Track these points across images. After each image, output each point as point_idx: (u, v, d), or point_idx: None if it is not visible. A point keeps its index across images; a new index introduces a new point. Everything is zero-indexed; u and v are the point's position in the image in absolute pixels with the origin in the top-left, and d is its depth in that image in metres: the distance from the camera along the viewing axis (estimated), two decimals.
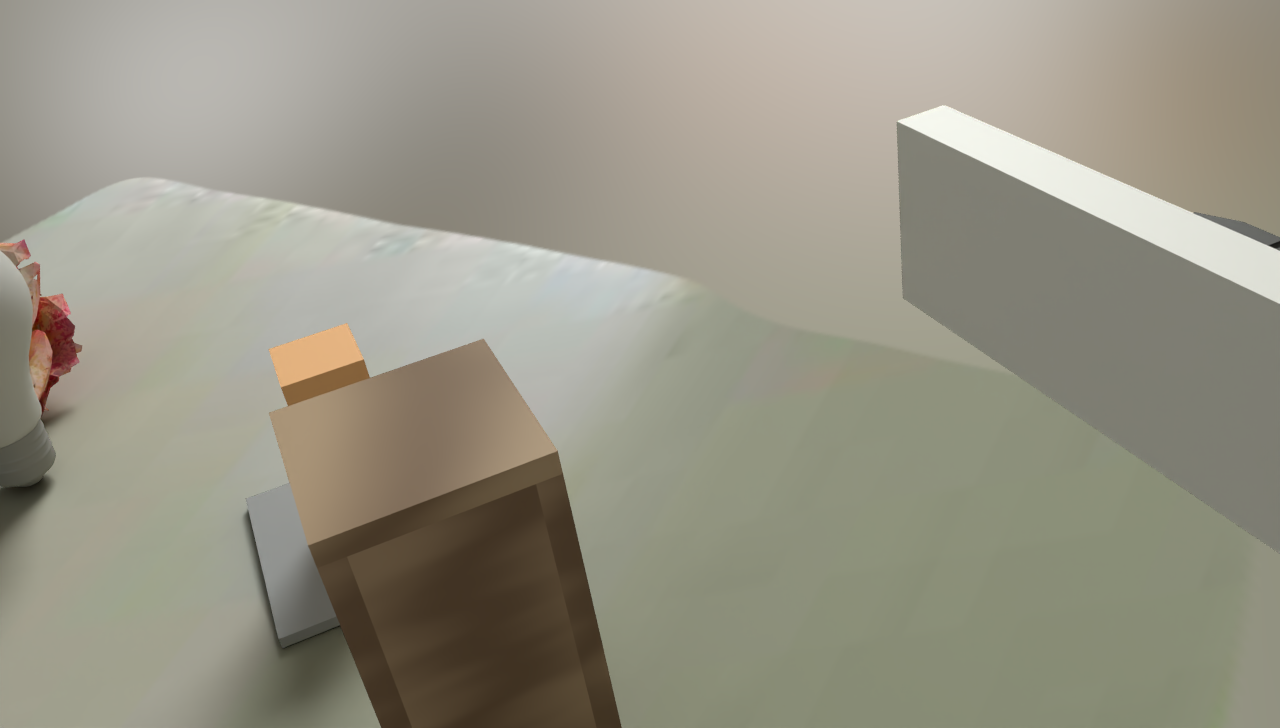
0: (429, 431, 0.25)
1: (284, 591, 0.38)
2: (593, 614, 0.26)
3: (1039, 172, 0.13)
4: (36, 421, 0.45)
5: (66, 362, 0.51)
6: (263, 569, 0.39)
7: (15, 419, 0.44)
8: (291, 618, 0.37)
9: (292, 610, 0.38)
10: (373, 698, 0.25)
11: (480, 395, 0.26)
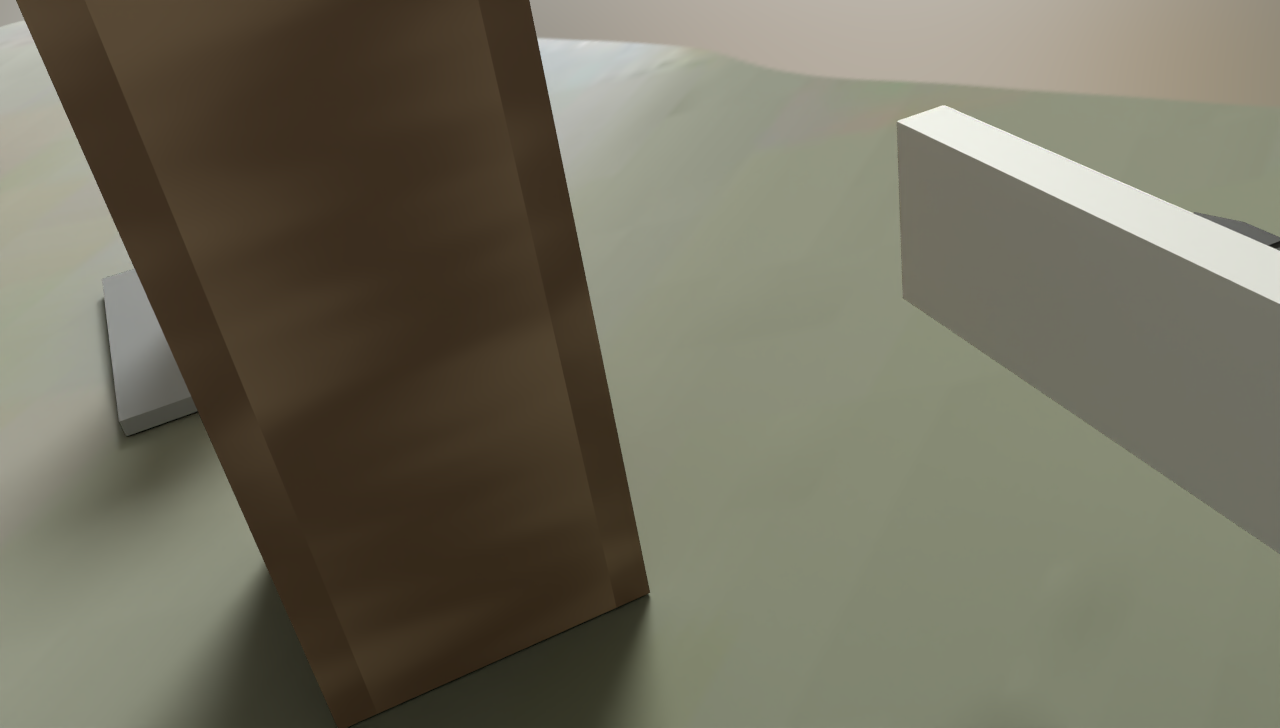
0: None
1: (136, 369, 0.27)
2: (568, 210, 0.15)
3: (1039, 172, 0.13)
4: None
5: None
6: (112, 348, 0.28)
7: None
8: (141, 397, 0.26)
9: (144, 388, 0.26)
10: (166, 325, 0.14)
11: None
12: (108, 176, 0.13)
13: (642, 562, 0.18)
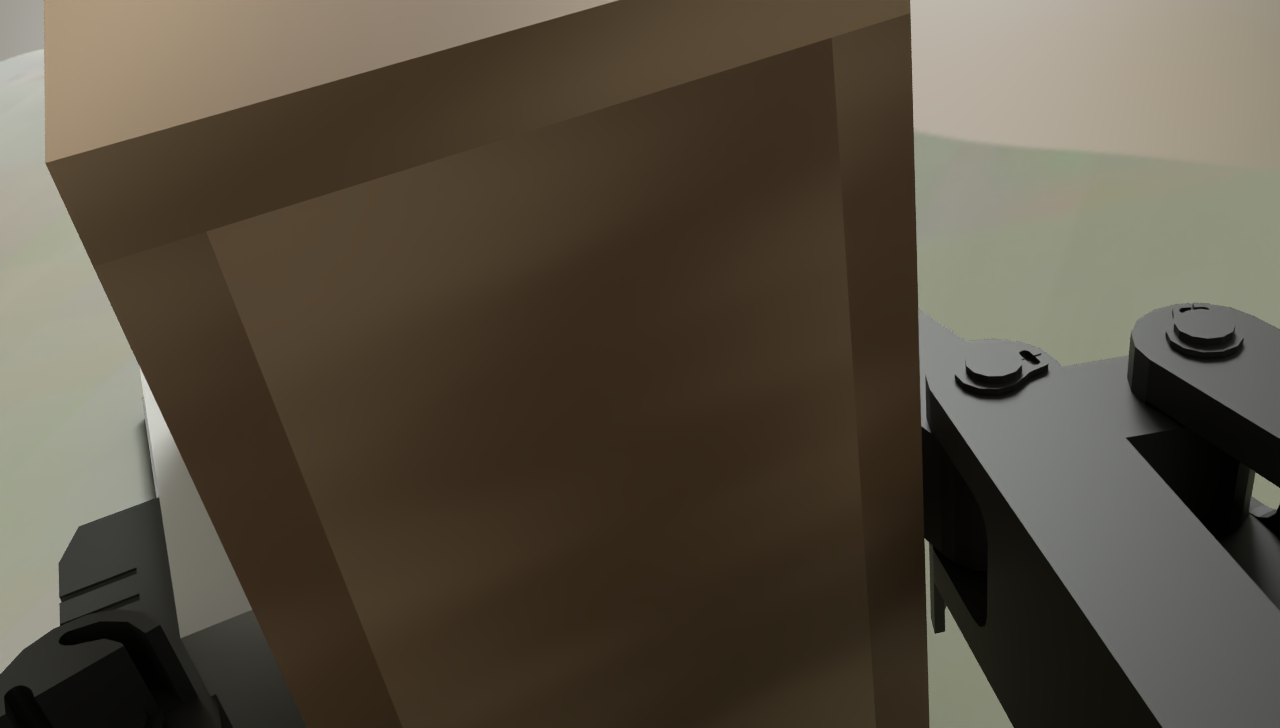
0: None
1: None
2: (918, 496, 0.10)
3: None
4: None
5: None
6: None
7: None
8: None
9: None
10: None
11: None
12: (242, 534, 0.07)
13: None
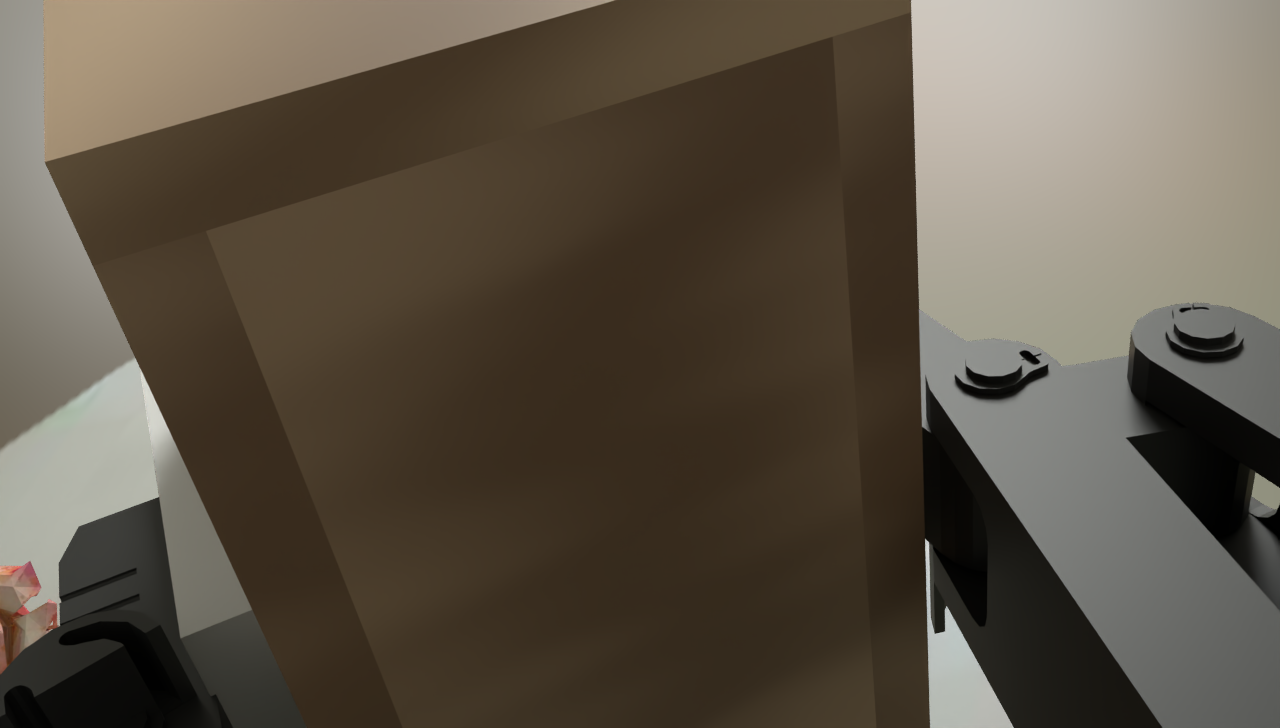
0: None
1: None
2: (919, 496, 0.10)
3: None
4: None
5: None
6: None
7: None
8: None
9: None
10: None
11: None
12: (242, 533, 0.07)
13: None
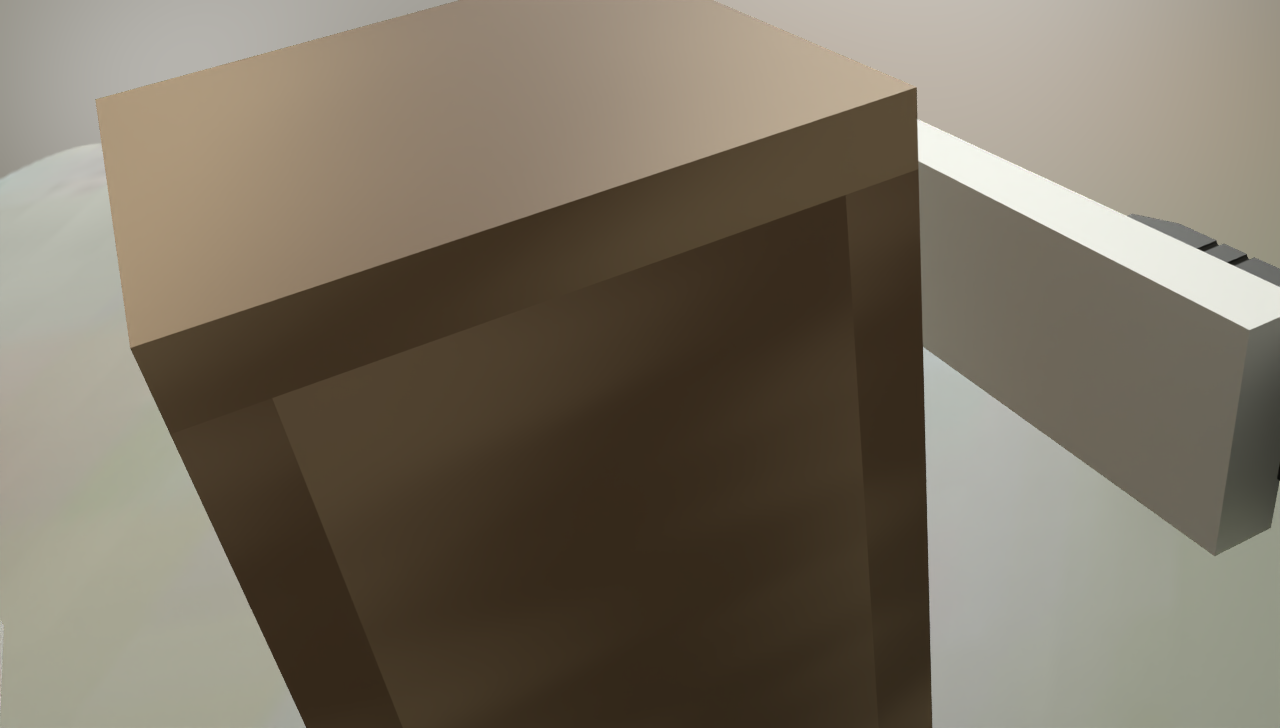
0: (511, 89, 0.09)
1: None
2: (924, 593, 0.10)
3: (979, 174, 0.14)
4: None
5: None
6: None
7: None
8: None
9: None
10: None
11: (636, 26, 0.10)
12: (298, 659, 0.08)
13: None
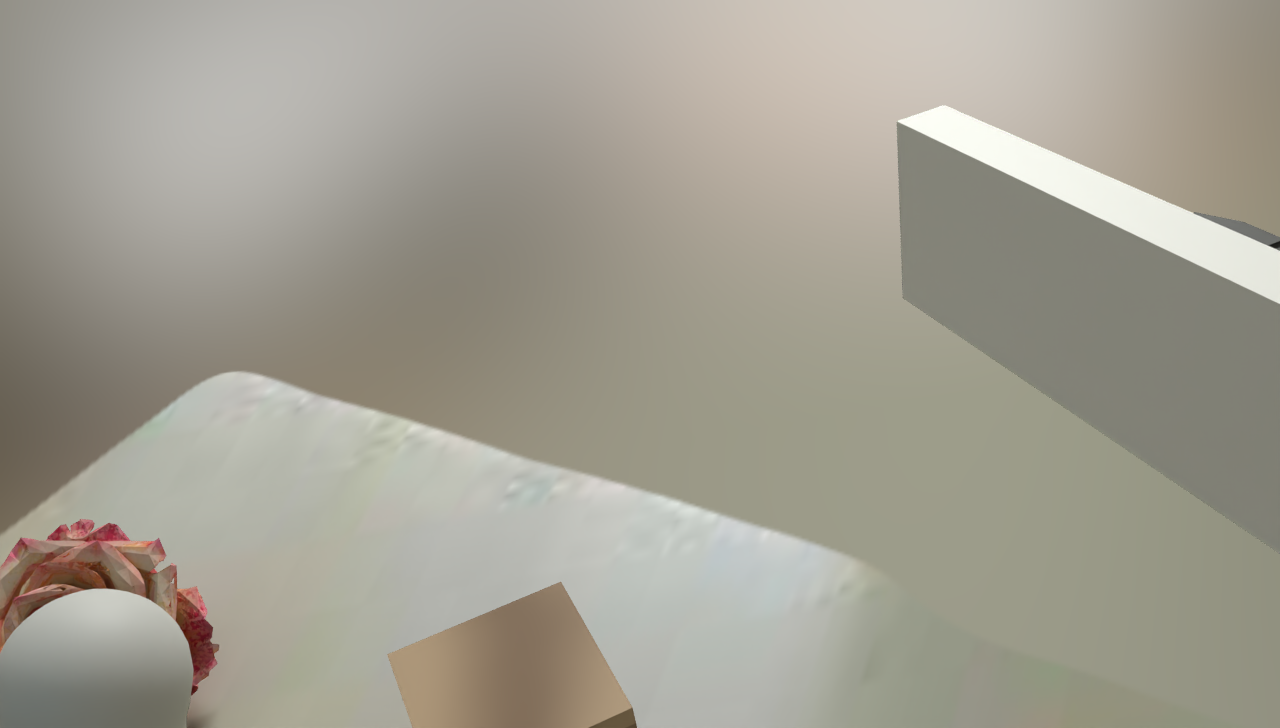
0: (524, 682, 0.31)
1: None
2: None
3: (1039, 172, 0.13)
4: None
5: (204, 666, 0.47)
6: None
7: None
8: None
9: None
10: None
11: (563, 645, 0.32)
12: None
13: None
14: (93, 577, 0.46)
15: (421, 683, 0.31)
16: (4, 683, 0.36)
